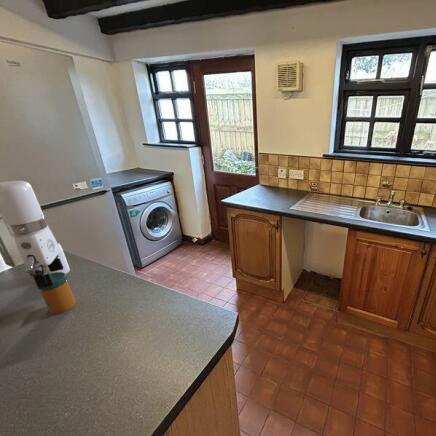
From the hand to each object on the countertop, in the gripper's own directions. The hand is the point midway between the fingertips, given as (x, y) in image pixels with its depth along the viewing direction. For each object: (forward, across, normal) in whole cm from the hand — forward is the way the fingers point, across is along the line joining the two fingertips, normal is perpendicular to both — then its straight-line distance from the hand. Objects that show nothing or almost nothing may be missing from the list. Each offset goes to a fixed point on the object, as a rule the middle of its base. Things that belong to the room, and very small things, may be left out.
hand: (52, 277), depth 74 cm
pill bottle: (+11, +23, +8) cm, 27 cm away
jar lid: (+1, 0, 0) cm, 1 cm away
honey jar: (+11, 0, 0) cm, 11 cm away
